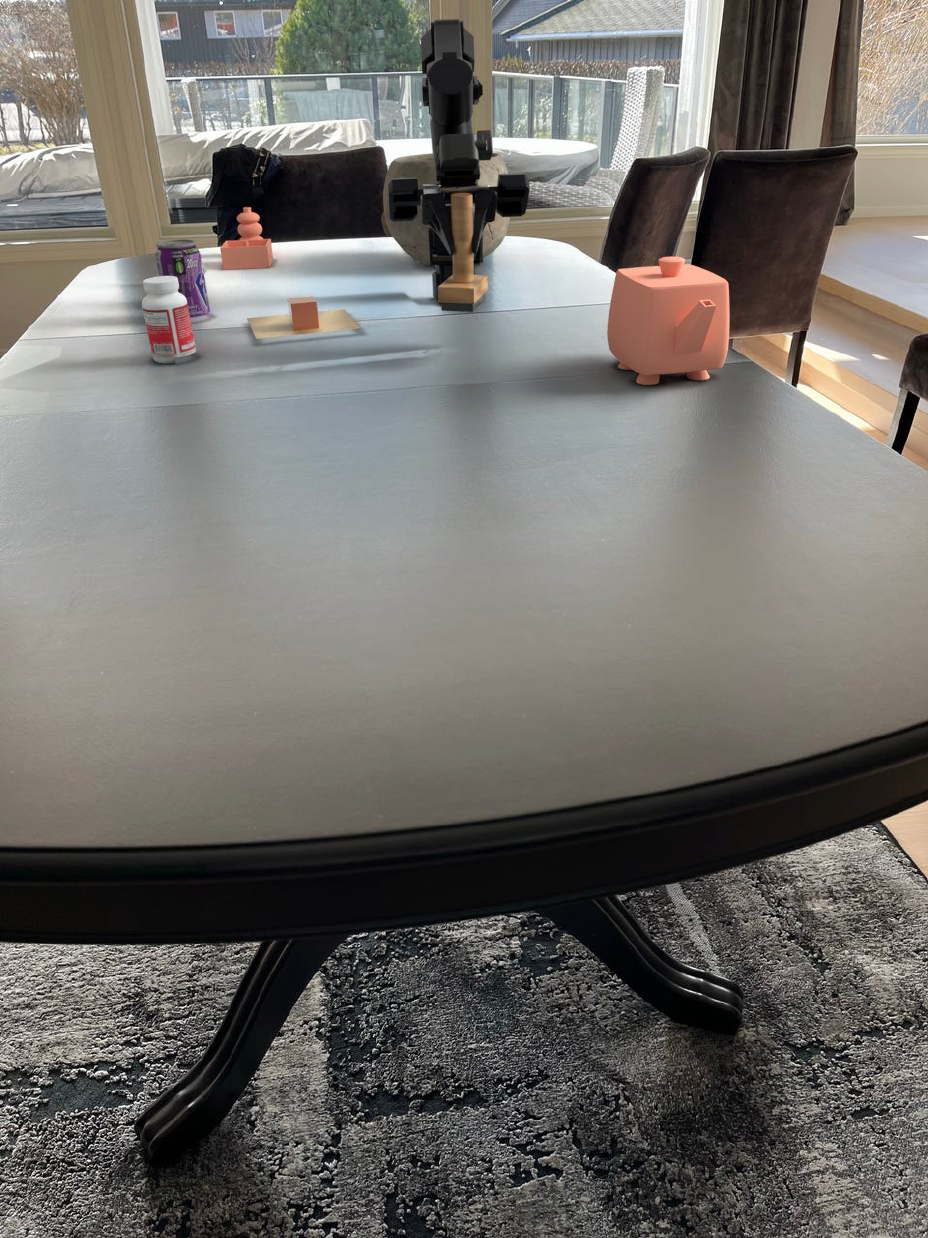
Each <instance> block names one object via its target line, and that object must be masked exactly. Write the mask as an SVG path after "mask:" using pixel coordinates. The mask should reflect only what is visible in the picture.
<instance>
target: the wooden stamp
mask: <svg viewBox="0 0 928 1238" xmlns="http://www.w3.org/2000/svg"><path fill="white" fill-rule="evenodd" d="M451 219H452V239H453V249H454V252H453V255H452V257H453V275H452V276H451V277H449V278H448V279H447V280H446V281H444V282H443V283H442V284H441V285H440V286H438V301H437V302H438V303H440V302H441V303H440V305H441V306H440V307H441V308H440V309H441V311H442V312H463V313H473V312H474V311H476V309H477V308H478V307H479V306H480V305H482V304H483V302H484V301H485V300H486V292H488V291H489V275H488V274H475V275H474V266H473V201H472V194H470V193H456V194H452V195H451Z"/></svg>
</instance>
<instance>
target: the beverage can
mask: <svg viewBox="0 0 928 1238" xmlns="http://www.w3.org/2000/svg"><path fill="white" fill-rule="evenodd" d="M196 243H197V242H196V240H195V239H188V238H187V239H186V238H185V239H182V238H181V239H168V240H162V241H160V242H159V241H158V242H157V243H155V245H156V248H157V249H156V252H155V261H156V267H157V272H158V273H157V274H158V277H159V276H175V277H177V278H178V283H179V289H178V292H179V293H181V294H183V295H184V296H185V298H186V300H187V304H188V309H189V315H190V319H191V318H196V317H202V316H205V315H208V314H209V313H210V312H211V309H210V302H209V297H208V291H207V285H206V279H205V273H204V272H203V270H204V267H203V261H202V254H201V251H200V250H199V248H198V246H197V245H196Z"/></svg>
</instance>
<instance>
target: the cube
mask: <svg viewBox="0 0 928 1238" xmlns="http://www.w3.org/2000/svg"><path fill="white" fill-rule="evenodd" d="M286 300H287V310H288V314H289V318H290V325H291V327H292V328H293V330H294V331H296V330H306V329H316V328H319V318H318V311H319V309H318V302H317V300H316V299H315V297H314V296H313V295H312V296H311V295H310V296H300V297H290V298H287V299H286Z"/></svg>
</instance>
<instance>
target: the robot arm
mask: <svg viewBox="0 0 928 1238" xmlns="http://www.w3.org/2000/svg"><path fill="white" fill-rule="evenodd" d="M420 58H421V59H420V60H421V62H420V63H421V73H422V75H426V77H422V78H421V95H422V106H423V107H428V115H430V121H429V129H430V139H431V151H432V153H433V161H434V172H435V183H436V184H423V185H422V189H419V190H417V189H418V180H417V177H411V178H391V180H390V181H389V182H388V203H389V217H390V220H392V221H393V222H400V221H413V220H414V219H415V218H416V217H417V216H418V211H417V205H421V209H422V223H423V224H424V225H430V226H431V227H429V252H430V266H429V267H433V265H435V267H434V271H432V273H431V279H432V297H433V298H434V300H436V301H437V302H438V286H440V285H441V284H442V283H443V282H444V281H446V280H447V279H448V278H449V277H451V276H452V275H453V257H452V255H453V252H454V249H453V239H452V219H451V195H452V194H456V193H470V194H472V201H473V205H474V206H475V208H474V212H473V254H475V255H473V266H474V275H476V272H475V271H476V270H475V269H476V268H475V265H480V264H481V263H483V262H484V258H483V234H482V233H483V231H484V229H485V227H486V225H487V223H489V222H493V221H494V220H495V215H496V213H498V214H499V215H500V216H502V217H510V218H515V217H516V218H517V217H523V216H524V215H526V213H527V208H528V201H529V196H530V190H531V189H530V188H531V187H530V179H529V177H528V176H527V175H526V174H525V173H523V172H520V173H519V172H518V173H508V174H499V175H498V182H497V186H495V187H489V186H488V185H478V180H480V165H479V161H481V160H491V158H492V154H493V153H494V148H493V147H494V146H493V145H494V144H493V137H492V130H491V129H485V130H483V129H482V130H477V132H476V133H473V124H472V116H473V113H474V106H475V105H476V106H477V105H479V103H480V98H482V96H484V85H483V84H482V83H481V82H480V80H479V79H478V75H474V73H475V62H476V61H475V37H474V35H473V34H472V33H470V32H469V31H468V29H467V30H466V29H465V27H464V20H460V18H443V19H442V18H441V19H440V18H439V19H434V20H433V21H430V28H429V30H428V31H427V32H425V33H424V34H423V35H422V36H421V37H420ZM434 254H437V256H442V257H433V255H434ZM439 303H440V304H441V302H439Z"/></svg>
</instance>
